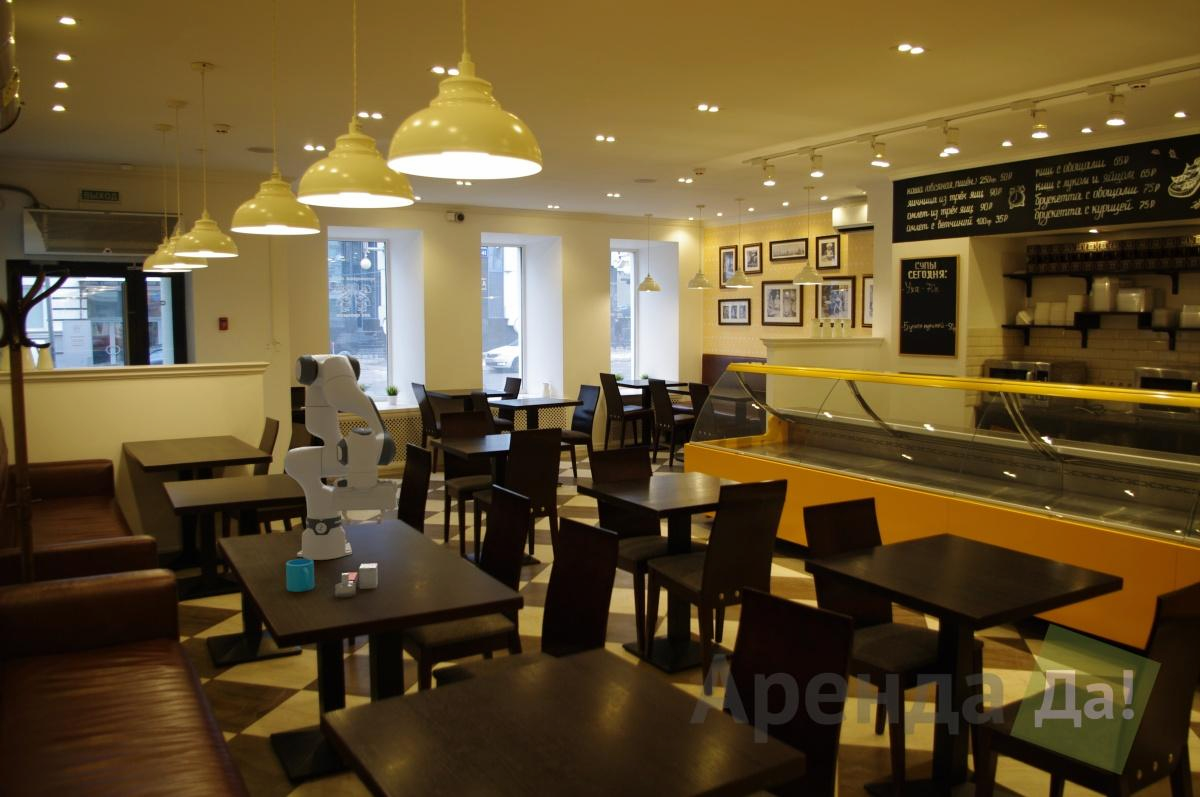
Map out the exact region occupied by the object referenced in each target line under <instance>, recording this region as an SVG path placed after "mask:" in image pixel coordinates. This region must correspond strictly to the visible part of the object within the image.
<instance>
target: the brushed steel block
mask: <svg viewBox="0 0 1200 797" xmlns="http://www.w3.org/2000/svg"><path fill="white" fill-rule="evenodd" d="M378 569H379V568H378V563H361V564H360V566H359V568H358V571H359V572H358V578H359V589H360V590H361V589H377V587H378V584H379V576H378V573H379V572H378V571H379V570H378Z"/></svg>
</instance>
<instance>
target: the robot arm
mask: <svg viewBox="0 0 1200 797" xmlns="http://www.w3.org/2000/svg"><path fill="white" fill-rule="evenodd" d="M294 374H295V375H294V376H295V378H296V381H297V382H298V383H299V384H300V385H302V386H303V385H304V386H306V391H305V399H304V407H305V409H304V410H305V411H304V412H305V414H304V415H305V420H304V422H305V429H306V430H307V432H308V433H309V434H311V435H313V436H315V437H317V438H320V439H321V440H323V443H324V445H323V446H301V447H296V448H291V449H289V450H288V451H287V453H286V454H285V456H284V458H283V467H284V471H285V473H287V475H288V476H289V477H291V478H292V479H294V481H295V480H296V482H297V483H298V484H299V486H301V488H302V490H303V492H304V496H305V501H306V509H307V510H306V511H307V512H306V513H307V514H306V515H307V516H306V517H305V523H306V524H305V526H306V529H305V530H303V532H302V534H301V550H300V551H298V552H297V554H296V557H300V558H303V559H311V560H313V561H314V560H315V561H317V560H318V561H324V560H331V559H332V560H333V559H337V558H342V557H345V556H351V555H352V554H353V550H352V547H351V542H348V539H346V531H345V529H344V528H343V526H342V523H343V522H342V521H343V520H342V519H343V518H344V520H345V525H346V526H351V525H352V518H350V517H348V515H347V514H348V511H349V512H350V511H376V510H377V511H379V510H380V514H381V515H380V517H377V518H376V524H377V525H382V524H383V518H384V516H385V514H386V511H387V510H388V511H389V510H395V509H396V508H397V505H398V499H397V492H398V489H399V488H398V483H397V482H396V481H395V480H393V479H378V478H379V470H378V466H379V467H381V466H384V467H387V466H388V465H390V464H391V463H392V462H393V461H394V460H395V459H396V457H397V446H396V442H395V441H394V438H393V437H392V436H391V434H390V433H389V431H388V428H387V427H386V425H385V423H384V420H383V418H382V416H381V414H380V411H379V409H378V407H377V405H376V403H375V401H374V400H373V398H372V397H371V396H370V395H368V394H366V393H365V392H364V391H363V390H362V388H361V387H360V385H359V383H358V381H359V380H360V376H361V365H360V361H359V360H358V359H357V357H355V356H352V355H347V354H346V355H341V354H334V353H333V354H332V353H329V354H315V355H314V354H313V355H312V354H306V355H301V356H300V357H299V358H298V359H297V360H296V362H295V365H294ZM339 412H342V413H348V414H350V415H354V416H357V417H360V418H361V419H363V420H364V421H365V422H366V423H367V426H368V427H364V426H363V427H360V426H359V427H354V428H352V429H350V430H349V433H348V436H347V437H344V436H343V434H342V431H341V429H340V422H339ZM323 478H336V479H335V480H334V481H333V488H332V487H331V486H328V485H325V484H324V483H323V482H322V480H321V479H323ZM342 516H343V518H342Z"/></svg>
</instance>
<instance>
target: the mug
mask: <svg viewBox="0 0 1200 797" xmlns="http://www.w3.org/2000/svg"><path fill="white" fill-rule="evenodd" d="M314 564H315V563H314V560H312V559H306V558H297V559H291V560H288V561H287V562H286V563H285V572H286V575H285V576H286V590H287V591H289V592H300V593H301V592H306V591H309V590H313V589H314V588H315V565H314Z"/></svg>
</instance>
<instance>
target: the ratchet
mask: <svg viewBox="0 0 1200 797" xmlns="http://www.w3.org/2000/svg"><path fill="white" fill-rule="evenodd" d="M358 578H359V572H357V571H356V572H355V571H354V572H344V573H343V572H342V573H341V582H338V583H336V584H335V585H334V594H335V595H334V596H335V597H336V598H340V599H346V598H350V597H351V598H352V597H355V595H357V594H356V590H357V589H356V584H357V582H358Z"/></svg>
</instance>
